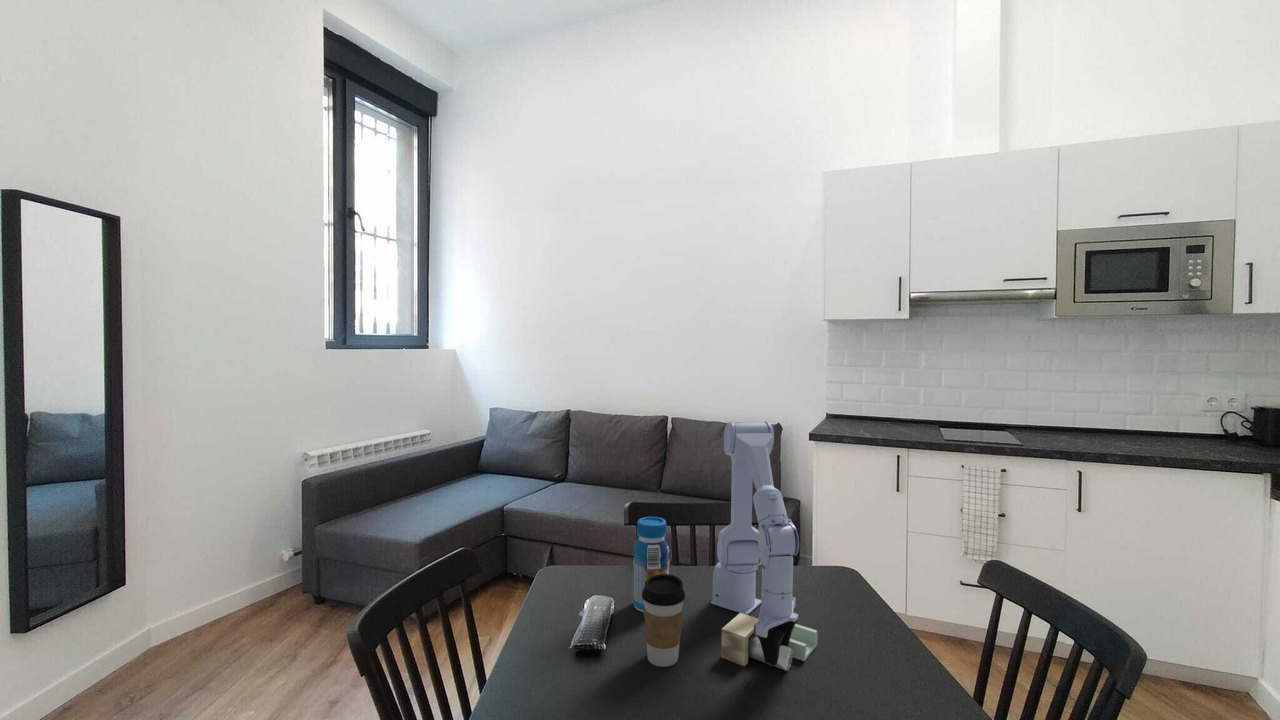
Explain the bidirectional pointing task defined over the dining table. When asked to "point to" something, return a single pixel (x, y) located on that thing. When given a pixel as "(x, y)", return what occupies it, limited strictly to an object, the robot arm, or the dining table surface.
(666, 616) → the coffee cup
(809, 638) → the cradle
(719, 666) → the dining table surface
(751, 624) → the wooden bridge block
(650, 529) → the beverage bottle
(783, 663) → the axle
